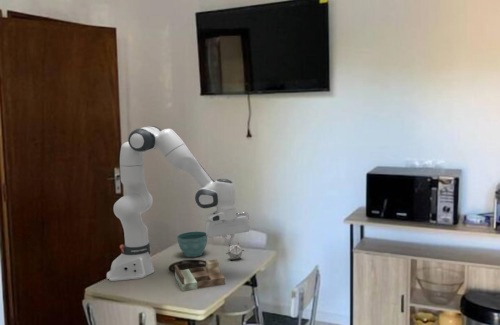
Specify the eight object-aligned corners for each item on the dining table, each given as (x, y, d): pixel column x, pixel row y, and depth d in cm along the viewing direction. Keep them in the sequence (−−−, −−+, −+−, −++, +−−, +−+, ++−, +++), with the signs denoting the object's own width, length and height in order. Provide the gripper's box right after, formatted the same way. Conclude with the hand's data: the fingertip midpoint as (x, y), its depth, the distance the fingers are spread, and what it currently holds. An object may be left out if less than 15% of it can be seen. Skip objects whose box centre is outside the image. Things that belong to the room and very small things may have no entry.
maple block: (209, 274, 227) (208, 263, 226) (206, 271, 232) (205, 260, 231) (219, 272, 228) (219, 262, 228) (217, 269, 233) (216, 259, 233)
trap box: (182, 291, 217) (181, 277, 216) (175, 277, 235) (174, 264, 234) (225, 284, 222) (224, 271, 222) (214, 271, 240) (214, 259, 240)
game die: (238, 267, 256) (241, 255, 249) (222, 261, 257) (225, 249, 250) (244, 254, 262) (247, 242, 256) (229, 248, 264) (231, 236, 257)
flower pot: (174, 253, 272) (173, 234, 271) (202, 248, 279) (201, 229, 278) (183, 261, 258) (182, 241, 257) (213, 256, 265) (211, 235, 263)
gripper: (246, 210, 235) (248, 238, 237) (203, 215, 229) (206, 245, 231) (250, 212, 229) (252, 242, 231) (206, 218, 223) (209, 248, 225)
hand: (229, 243), depth 231 cm, fingers closed
